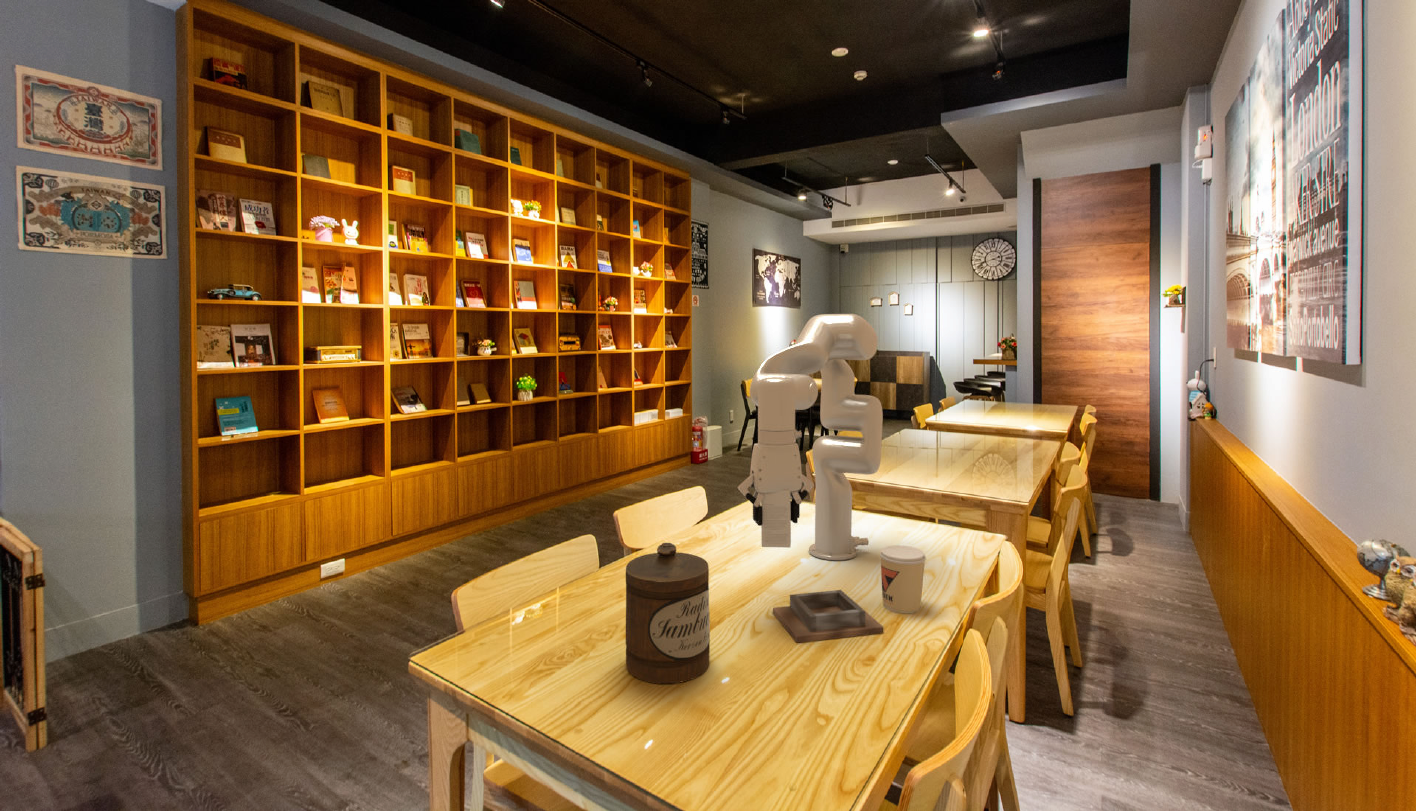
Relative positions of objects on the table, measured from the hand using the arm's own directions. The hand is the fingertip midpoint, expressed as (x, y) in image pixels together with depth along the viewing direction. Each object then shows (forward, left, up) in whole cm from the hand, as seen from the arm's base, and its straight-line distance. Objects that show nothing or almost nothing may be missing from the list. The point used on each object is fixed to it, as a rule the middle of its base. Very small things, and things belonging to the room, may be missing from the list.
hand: (776, 522), depth 139 cm
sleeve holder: (-8, +7, -19) cm, 22 cm away
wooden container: (+26, +16, -20) cm, 36 cm away
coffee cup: (-27, +3, -20) cm, 34 cm away
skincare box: (0, 0, -5) cm, 5 cm away
